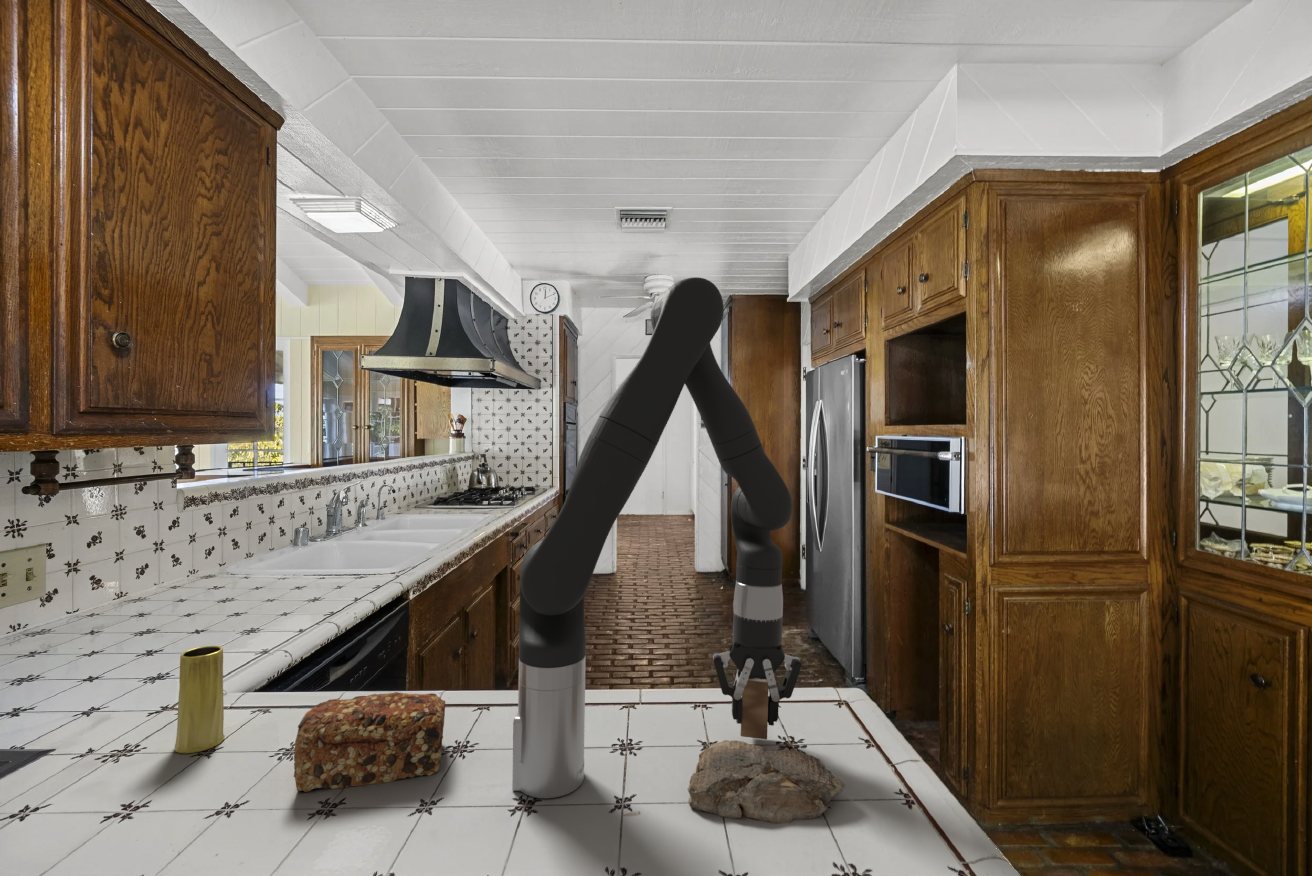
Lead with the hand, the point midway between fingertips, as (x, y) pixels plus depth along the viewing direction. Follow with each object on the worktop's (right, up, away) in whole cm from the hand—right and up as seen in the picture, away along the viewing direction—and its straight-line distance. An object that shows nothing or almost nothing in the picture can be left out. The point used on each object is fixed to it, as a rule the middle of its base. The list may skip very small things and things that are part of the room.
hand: (754, 721), depth 91 cm
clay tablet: (0, -5, -11) cm, 12 cm away
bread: (-56, -4, -6) cm, 56 cm away
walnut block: (0, -2, +2) cm, 3 cm away
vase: (-86, -4, 0) cm, 86 cm away
